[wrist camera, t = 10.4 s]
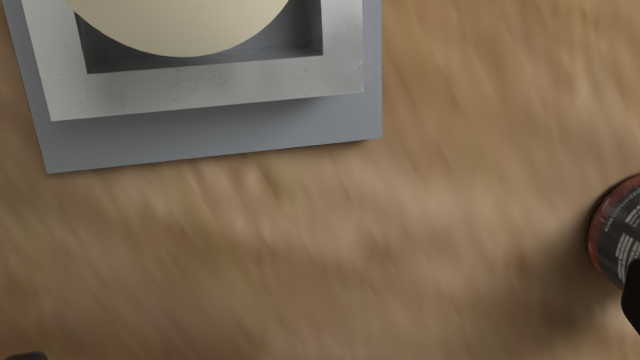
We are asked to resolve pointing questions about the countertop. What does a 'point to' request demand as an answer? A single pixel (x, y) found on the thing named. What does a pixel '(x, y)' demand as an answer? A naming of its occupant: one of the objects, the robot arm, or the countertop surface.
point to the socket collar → (191, 66)
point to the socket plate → (206, 108)
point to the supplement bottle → (616, 232)
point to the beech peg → (178, 23)
